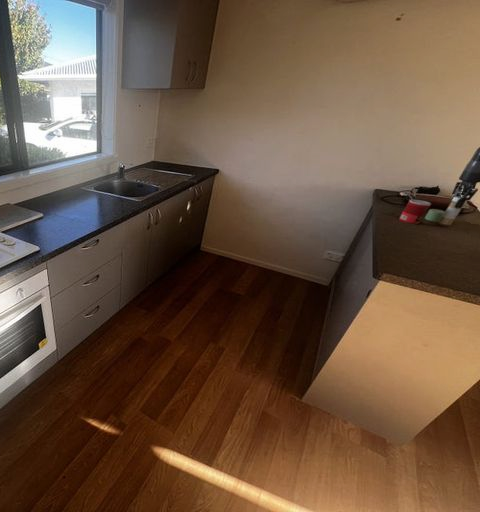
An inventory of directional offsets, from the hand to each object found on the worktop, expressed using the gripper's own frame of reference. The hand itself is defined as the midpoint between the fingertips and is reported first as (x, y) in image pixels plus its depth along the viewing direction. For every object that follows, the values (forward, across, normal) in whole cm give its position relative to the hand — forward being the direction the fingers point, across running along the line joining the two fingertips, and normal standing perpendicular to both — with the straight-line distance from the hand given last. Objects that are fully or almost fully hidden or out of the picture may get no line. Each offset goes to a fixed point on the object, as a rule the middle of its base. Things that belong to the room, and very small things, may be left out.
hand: (455, 205), depth 141 cm
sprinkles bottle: (+10, 0, 0) cm, 10 cm away
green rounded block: (+11, +10, +1) cm, 15 cm away
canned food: (+11, 0, +13) cm, 17 cm away
